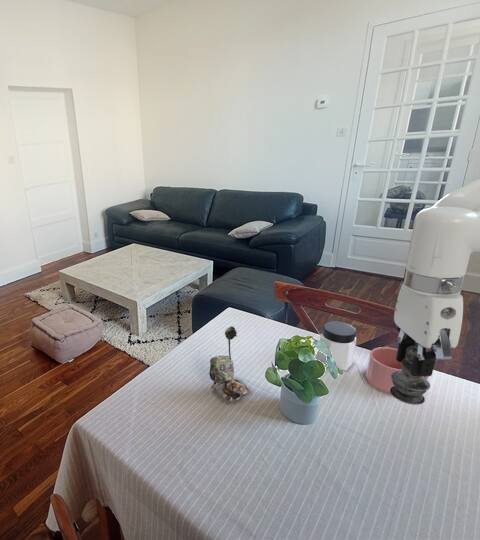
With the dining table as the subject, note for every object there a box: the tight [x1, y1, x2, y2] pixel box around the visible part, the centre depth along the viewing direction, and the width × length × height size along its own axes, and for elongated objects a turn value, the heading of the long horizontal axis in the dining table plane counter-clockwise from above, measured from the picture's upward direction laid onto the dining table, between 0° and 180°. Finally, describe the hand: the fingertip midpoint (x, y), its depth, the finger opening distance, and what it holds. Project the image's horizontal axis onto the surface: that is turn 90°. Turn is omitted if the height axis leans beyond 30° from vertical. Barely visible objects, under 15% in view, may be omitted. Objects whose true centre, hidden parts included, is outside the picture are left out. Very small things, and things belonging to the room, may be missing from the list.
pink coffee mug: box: [365, 346, 430, 395], centre depth 90 cm, size 14×10×8 cm
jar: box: [317, 320, 357, 371], centre depth 99 cm, size 9×8×12 cm
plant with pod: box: [208, 325, 249, 402], centre depth 91 cm, size 8×11×20 cm
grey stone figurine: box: [389, 342, 431, 406], centre depth 65 cm, size 6×6×12 cm
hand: (413, 367), depth 64 cm, fingers closed on grey stone figurine, 3 cm apart
